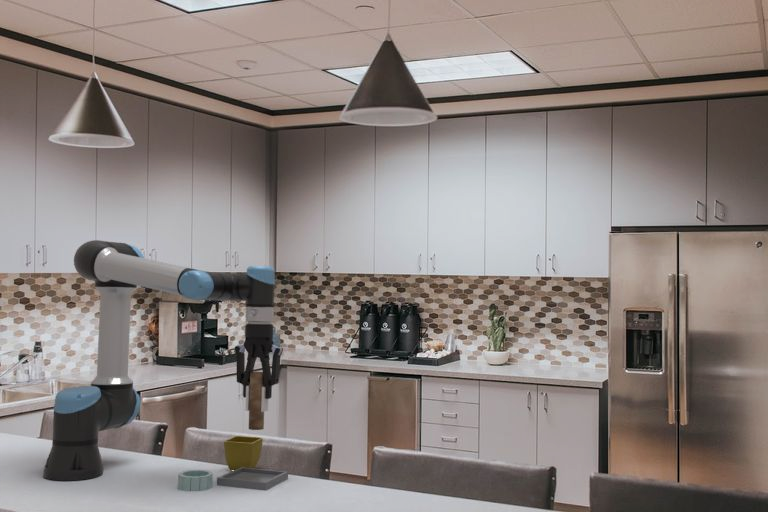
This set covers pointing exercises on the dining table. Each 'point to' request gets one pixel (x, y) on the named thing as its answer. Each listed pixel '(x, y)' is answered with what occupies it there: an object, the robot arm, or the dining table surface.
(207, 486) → the crock
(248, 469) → the tray
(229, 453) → the flower pot
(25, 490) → the dining table surface
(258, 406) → the cylinder
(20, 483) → the dining table surface
